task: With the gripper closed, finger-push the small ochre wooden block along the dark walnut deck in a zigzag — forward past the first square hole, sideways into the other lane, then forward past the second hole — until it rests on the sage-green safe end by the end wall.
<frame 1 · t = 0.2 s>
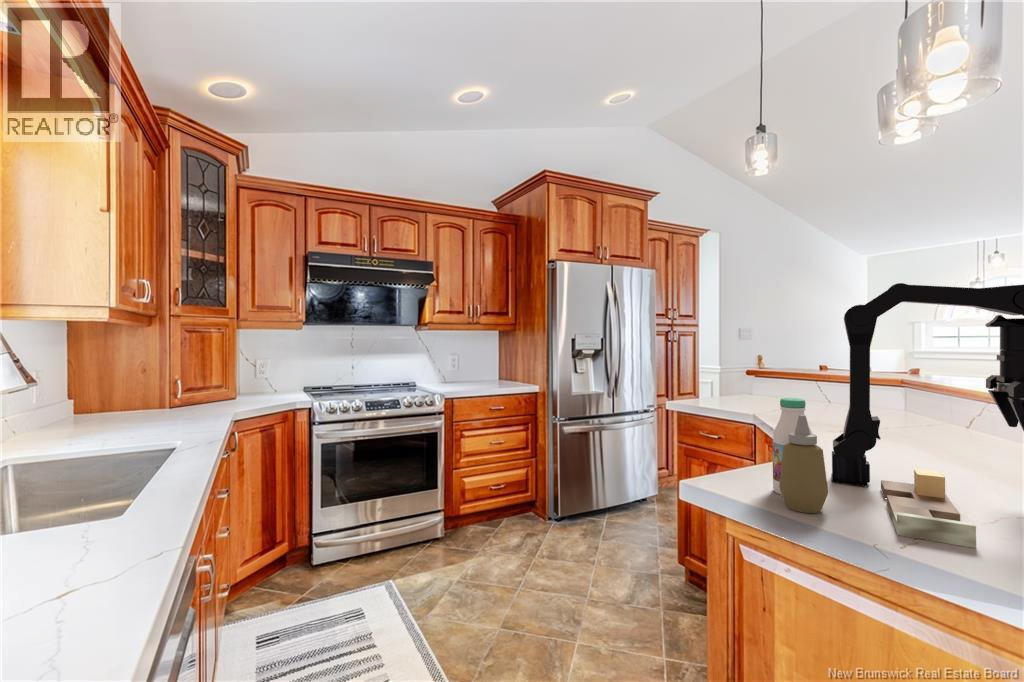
hand: (1020, 430, 91), 14 cm above the table, tool pointing down, fingers open, 9 cm apart
deck: (920, 513, 87), on the table
milk bottle: (793, 494, 99), on the table
squeeze bottle: (803, 509, 91), on the table
block: (929, 493, 92), point 2 cm above the table, touching deck
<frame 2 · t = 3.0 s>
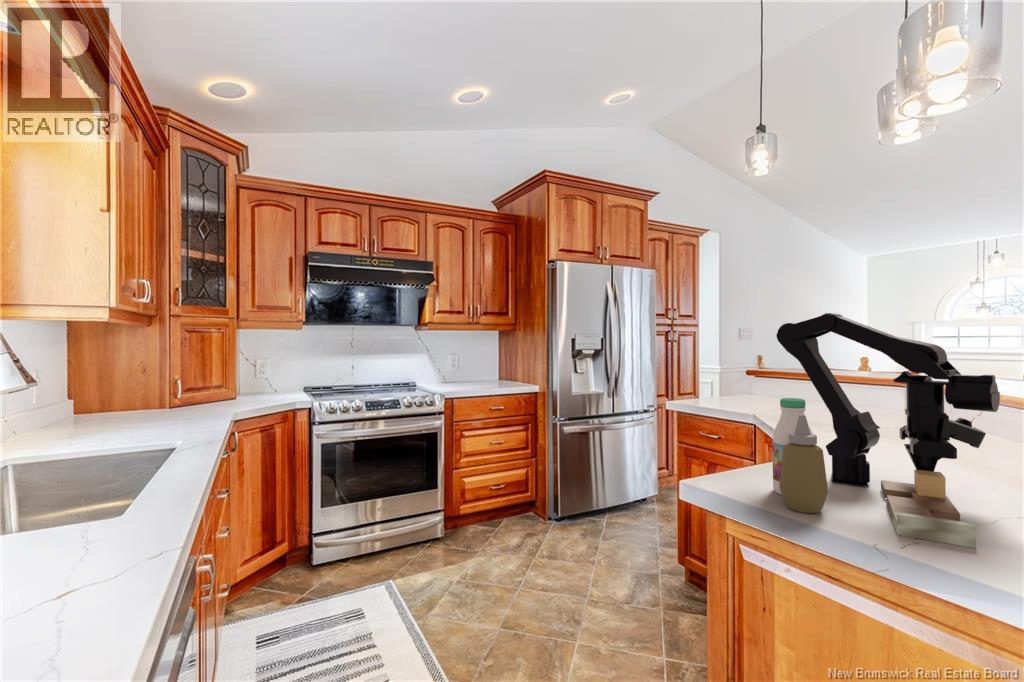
hand: (926, 483, 95), 3 cm above the table, tool pointing down, fingers closed
block: (929, 493, 92), point 2 cm above the table, touching gripper
everything else where it was.
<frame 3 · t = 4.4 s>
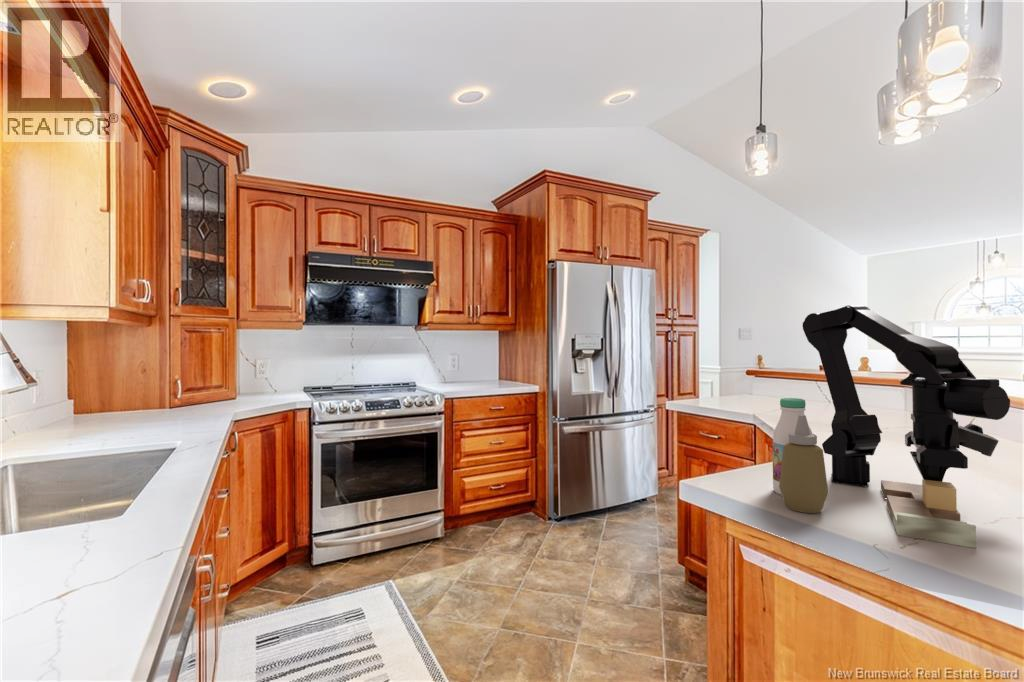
hand: (933, 493, 89), 3 cm above the table, tool pointing down, fingers closed
block: (939, 505, 85), point 2 cm above the table, touching deck, gripper
everything else where it was.
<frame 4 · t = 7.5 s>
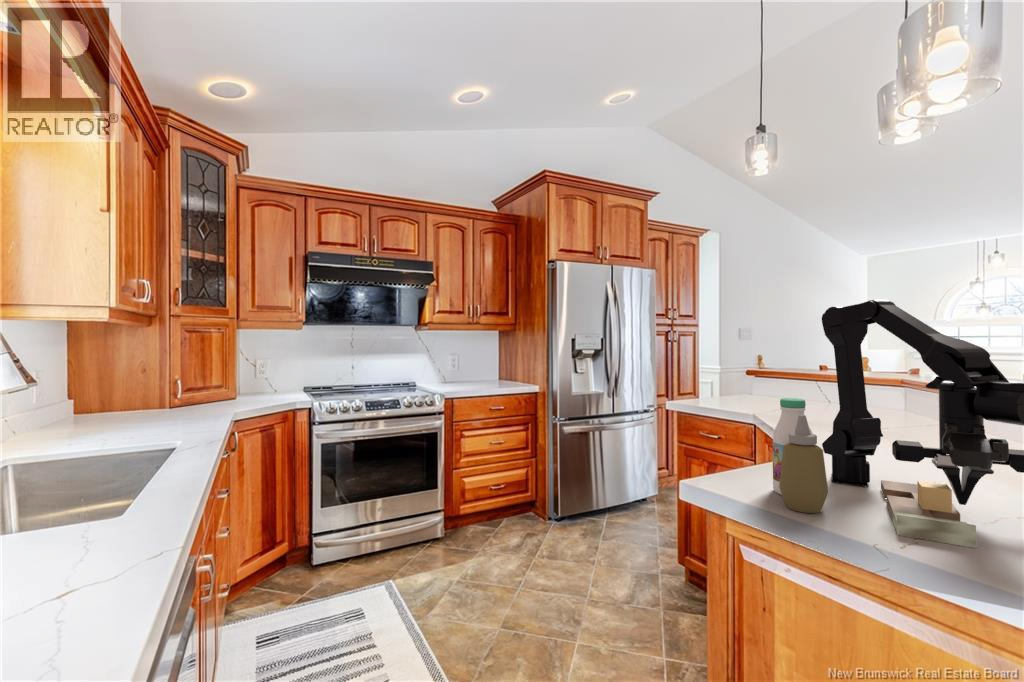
hand: (961, 504, 84), 3 cm above the table, tool pointing down, fingers closed
block: (934, 507, 85), point 2 cm above the table, touching deck, gripper
everything else where it was.
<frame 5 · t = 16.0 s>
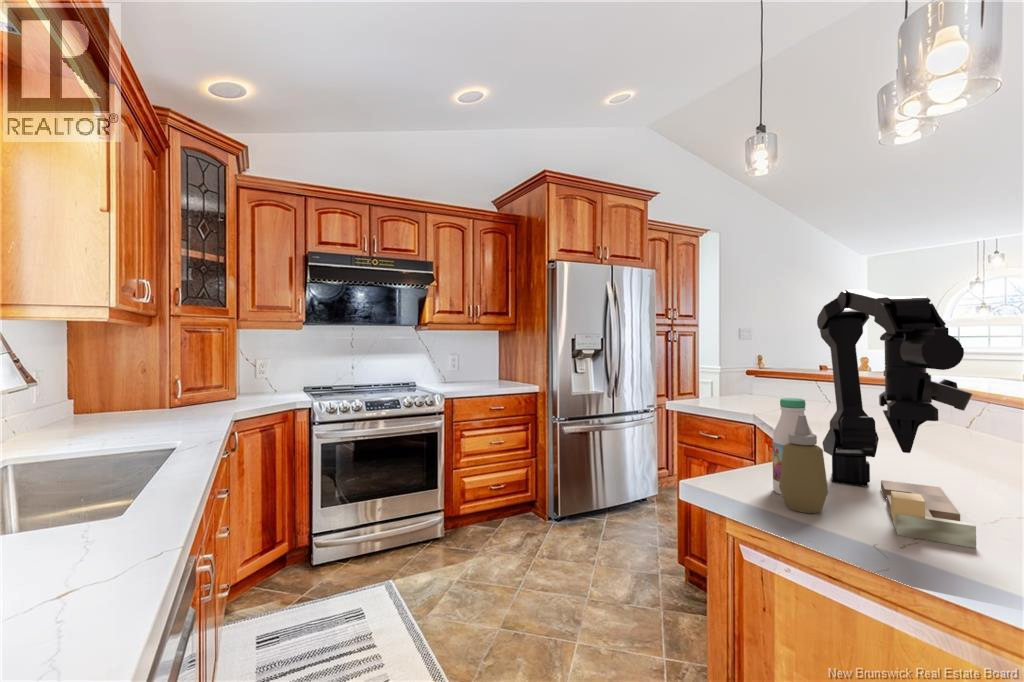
hand: (906, 452, 85), 12 cm above the table, tool pointing down, fingers closed
block: (907, 519, 80), point 2 cm above the table, touching deck
everything else where it was.
at the end: block 1.3 cm from the target spot, point 2.0 cm above the table; block tilted 0°; block touching deck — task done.
